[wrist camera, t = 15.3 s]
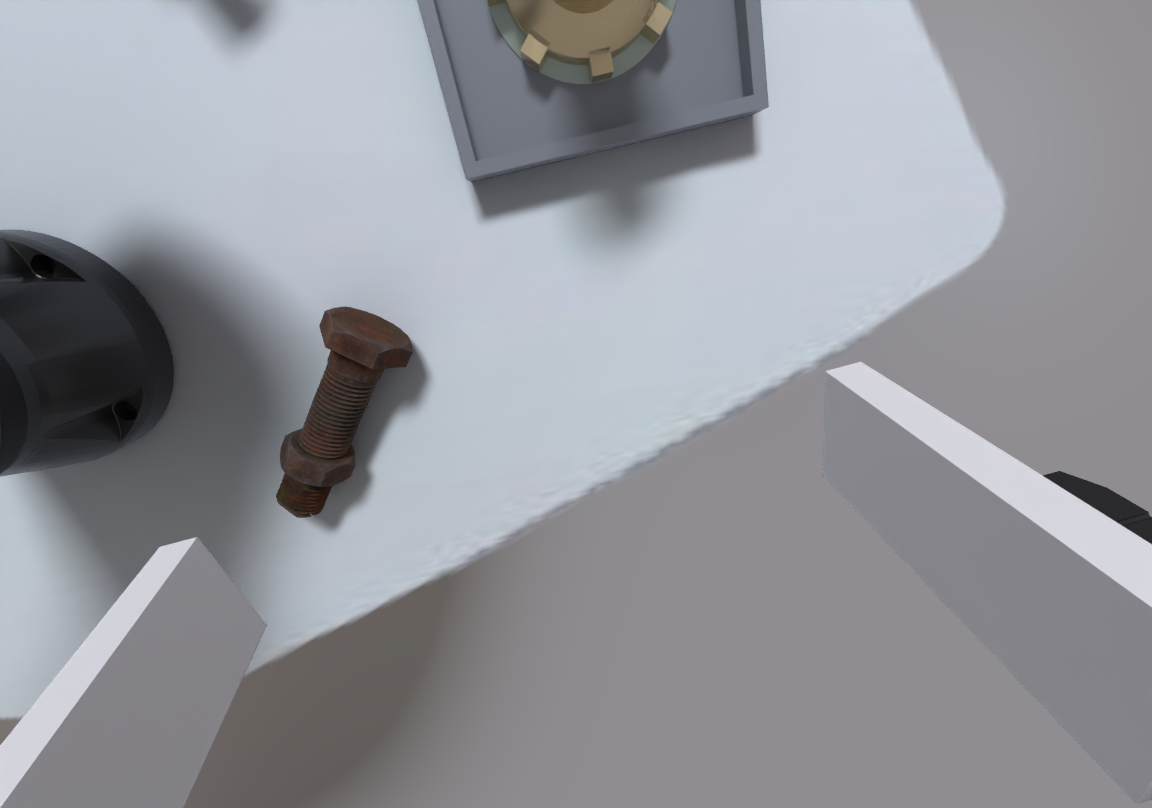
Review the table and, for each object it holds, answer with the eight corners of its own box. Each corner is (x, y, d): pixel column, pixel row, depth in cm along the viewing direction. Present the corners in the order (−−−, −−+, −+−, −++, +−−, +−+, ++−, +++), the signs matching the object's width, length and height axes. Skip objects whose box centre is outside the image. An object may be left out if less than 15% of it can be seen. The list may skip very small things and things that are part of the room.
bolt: (311, 475, 41) (379, 309, 36) (353, 515, 39) (429, 347, 35) (237, 495, 36) (306, 303, 31) (282, 541, 34) (362, 347, 29)
